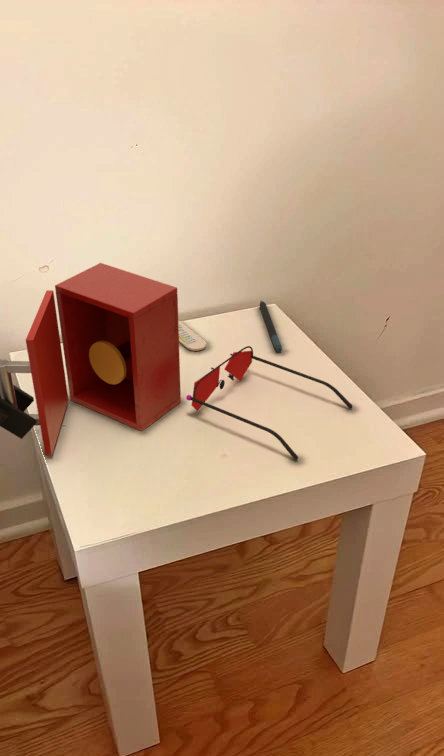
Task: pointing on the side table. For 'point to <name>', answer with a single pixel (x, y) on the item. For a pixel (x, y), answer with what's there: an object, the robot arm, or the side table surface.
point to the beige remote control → (190, 338)
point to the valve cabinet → (120, 344)
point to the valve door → (41, 372)
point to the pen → (270, 327)
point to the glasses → (237, 369)
